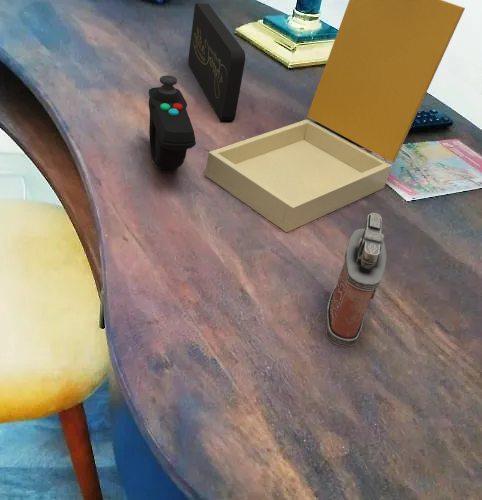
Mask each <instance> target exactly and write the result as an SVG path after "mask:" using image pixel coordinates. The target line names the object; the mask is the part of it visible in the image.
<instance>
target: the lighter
mask: <svg viewBox="0 0 482 500" xmlns="http://www.w3.org/2000/svg"><path fill="white" fill-rule="evenodd" d="M382 221H383V217H382V216H381V214H379V213H376V212H371V213H368V215H367V218H366V221H365V223H364V224H365V225H364V228H358V229H355V230H354V231H353V233H352V235H351V237H350V238H349V240H348V243H347V246H346V250H345V253H344V263H343V265H342V268H341V271H340V274H339V277H338V280H337V283H336V284H335V286H334V288H333V290H332V291H331V294H330V296H329V300H328V302H327V306H326V309H325V315H324V316H325V319H324V324H325V325H324V326H325V333H326V338H327V339H328V340H329V341H330V342H331V343H332V344H334V345H337V346H339V347H344V348H347V347H348V348H349V347H352V346H354V345H355V344H356V342H357V341H358V338H359V336H360V333H361V330H362V328H363V324H364V320H365V315H366V312H367V309H368V306H369V304H370V301H373V299H374V297H375V295H376V293H377V290H378V288H379V285H380V283H381V281H382V278H383V275H384V273H385V270H386V265H387V249H386V243H385V241H384V240H385V233H382V224H383V223H382Z"/></svg>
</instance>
